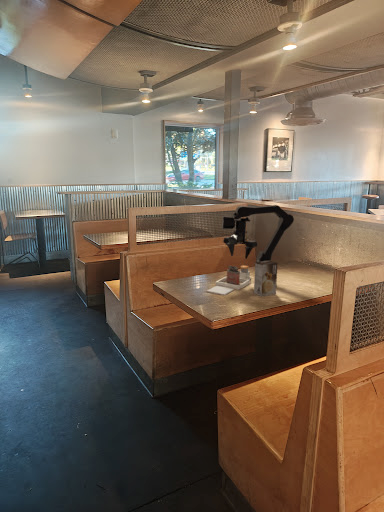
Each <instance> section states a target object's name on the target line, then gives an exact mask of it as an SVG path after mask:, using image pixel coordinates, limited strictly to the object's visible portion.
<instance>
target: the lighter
mask: <svg viewBox="0 0 384 512" xmlns="http://www.w3.org/2000/svg"><path fill="white" fill-rule="evenodd" d="M240 271H241V270H240ZM240 271H239V267H237V266H236V265H228V266H227V269H226V276H227V281H225V283H229V284H234V285H240V284H241V283H240V282H239V278H240Z"/></svg>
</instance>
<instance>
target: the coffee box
mask: <svg viewBox="0 0 384 512" xmlns="http://www.w3.org/2000/svg"><path fill="white" fill-rule="evenodd" d="M277 277H278V262H276V261H273V260H271V261H270V260H268V261H260V262H257V261H255V263H254V278H253V279H254V281H253V283H254V285H253V293H254V294H255V295H258V296H259V297H267V296H271V295H276V294H277V279H278V278H277Z"/></svg>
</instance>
